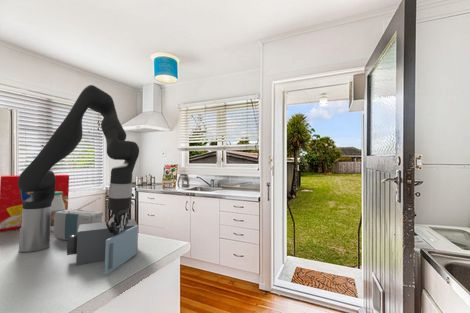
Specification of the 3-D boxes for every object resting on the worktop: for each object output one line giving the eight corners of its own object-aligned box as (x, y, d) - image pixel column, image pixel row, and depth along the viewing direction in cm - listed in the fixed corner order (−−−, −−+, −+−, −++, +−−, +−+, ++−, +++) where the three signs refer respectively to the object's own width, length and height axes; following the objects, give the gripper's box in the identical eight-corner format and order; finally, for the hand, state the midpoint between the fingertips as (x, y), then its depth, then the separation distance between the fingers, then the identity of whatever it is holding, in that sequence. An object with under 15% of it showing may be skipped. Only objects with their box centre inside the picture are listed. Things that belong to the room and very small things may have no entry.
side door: (109, 274, 73) (110, 240, 73) (103, 273, 73) (105, 239, 73) (139, 253, 90) (140, 225, 90) (134, 252, 90) (135, 225, 90)
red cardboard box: (-3, 232, 112) (0, 176, 113) (-1, 228, 118) (1, 175, 119) (67, 223, 132) (69, 175, 132) (65, 220, 137) (67, 174, 138)
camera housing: (65, 267, 79) (67, 230, 79) (69, 256, 87) (70, 223, 88) (136, 254, 91) (137, 222, 91) (133, 246, 99) (134, 216, 100)
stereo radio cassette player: (52, 240, 104) (54, 197, 104) (69, 234, 112) (70, 194, 112) (88, 245, 99) (90, 200, 100) (103, 239, 107) (105, 197, 108)
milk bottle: (48, 228, 121) (50, 191, 121) (66, 226, 124) (67, 190, 125) (43, 232, 114) (45, 193, 114) (62, 230, 117) (64, 192, 118)
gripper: (121, 199, 75) (118, 251, 75) (138, 193, 88) (135, 237, 88) (99, 198, 75) (95, 250, 74) (119, 192, 88) (116, 236, 88)
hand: (117, 243), depth 81 cm, fingers closed
